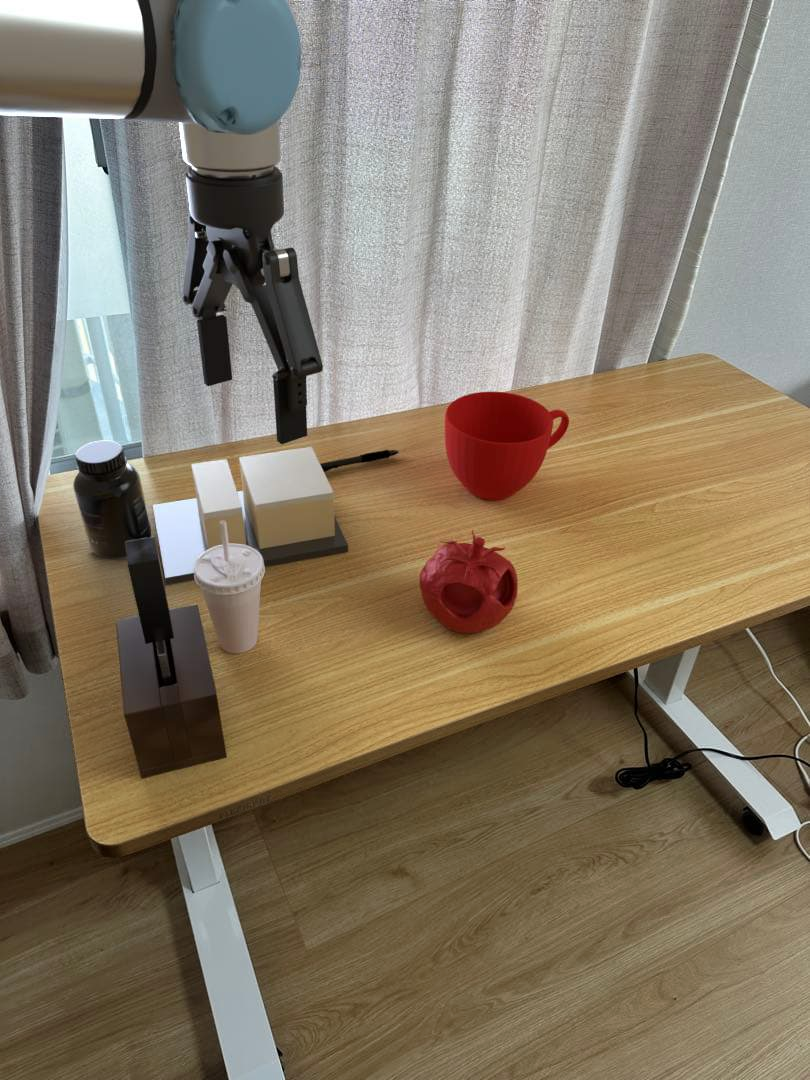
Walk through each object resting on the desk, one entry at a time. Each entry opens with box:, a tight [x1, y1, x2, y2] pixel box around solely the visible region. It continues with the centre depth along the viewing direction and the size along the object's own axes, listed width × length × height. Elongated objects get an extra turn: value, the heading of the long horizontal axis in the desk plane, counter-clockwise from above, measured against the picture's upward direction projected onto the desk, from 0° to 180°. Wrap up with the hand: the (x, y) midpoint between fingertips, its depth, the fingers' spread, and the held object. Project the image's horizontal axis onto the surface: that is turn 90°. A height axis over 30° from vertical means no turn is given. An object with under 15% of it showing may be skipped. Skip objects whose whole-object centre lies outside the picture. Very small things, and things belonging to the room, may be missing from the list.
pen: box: [319, 449, 399, 473], centre depth 104 cm, size 14×2×1 cm, turn 113°
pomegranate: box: [418, 529, 519, 634], centre depth 81 cm, size 10×10×9 cm
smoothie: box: [194, 520, 266, 654], centre depth 75 cm, size 6×6×14 cm
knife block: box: [115, 603, 228, 779], centre depth 69 cm, size 7×11×8 cm, turn 19°
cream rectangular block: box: [190, 458, 246, 549], centre depth 90 cm, size 4×10×6 cm, turn 19°
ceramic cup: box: [444, 391, 570, 501], centre depth 100 cm, size 13×17×10 cm
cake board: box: [152, 490, 349, 586], centre depth 93 cm, size 20×14×1 cm
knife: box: [125, 536, 175, 686], centre depth 65 cm, size 2×6×18 cm, turn 19°
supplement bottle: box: [72, 439, 153, 560], centre depth 87 cm, size 7×7×12 cm
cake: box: [238, 446, 335, 549], centre depth 92 cm, size 9×10×6 cm
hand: (253, 408), depth 76 cm, fingers open, 13 cm apart
